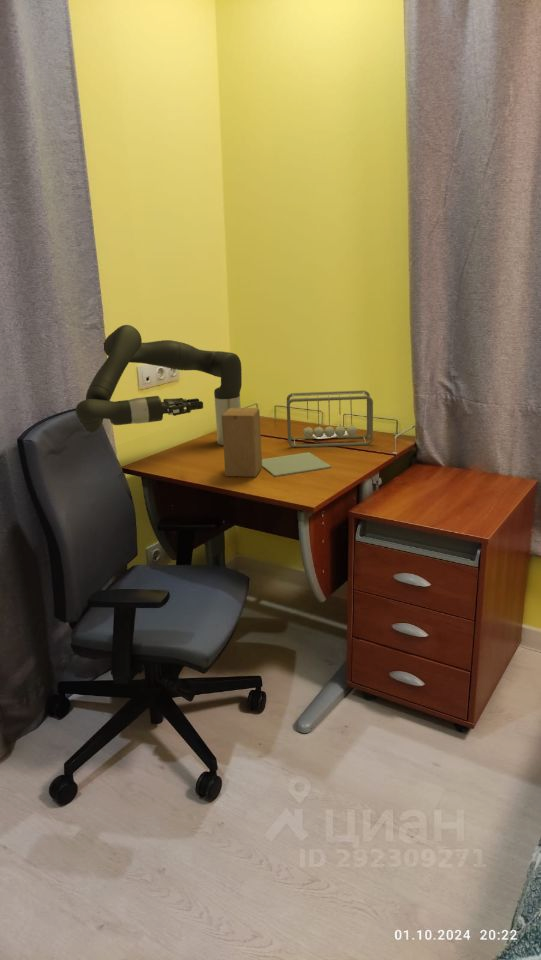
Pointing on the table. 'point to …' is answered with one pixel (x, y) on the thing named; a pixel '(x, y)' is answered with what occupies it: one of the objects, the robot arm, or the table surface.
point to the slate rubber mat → (293, 464)
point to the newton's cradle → (329, 430)
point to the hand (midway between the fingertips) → (200, 403)
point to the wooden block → (242, 442)
